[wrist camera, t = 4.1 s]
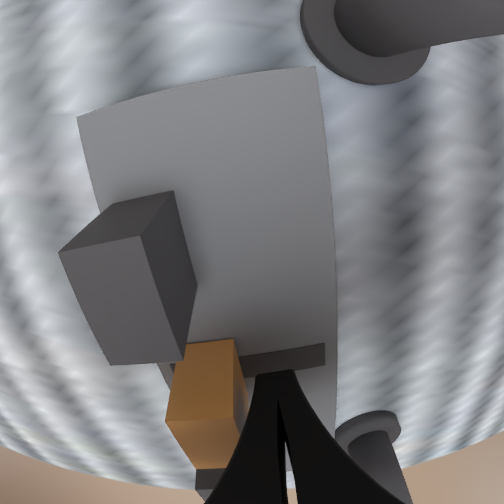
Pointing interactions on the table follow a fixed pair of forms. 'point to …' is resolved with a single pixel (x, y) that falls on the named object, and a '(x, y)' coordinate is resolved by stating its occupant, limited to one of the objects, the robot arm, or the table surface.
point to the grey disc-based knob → (391, 33)
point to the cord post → (375, 449)
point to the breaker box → (213, 232)
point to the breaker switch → (208, 403)
